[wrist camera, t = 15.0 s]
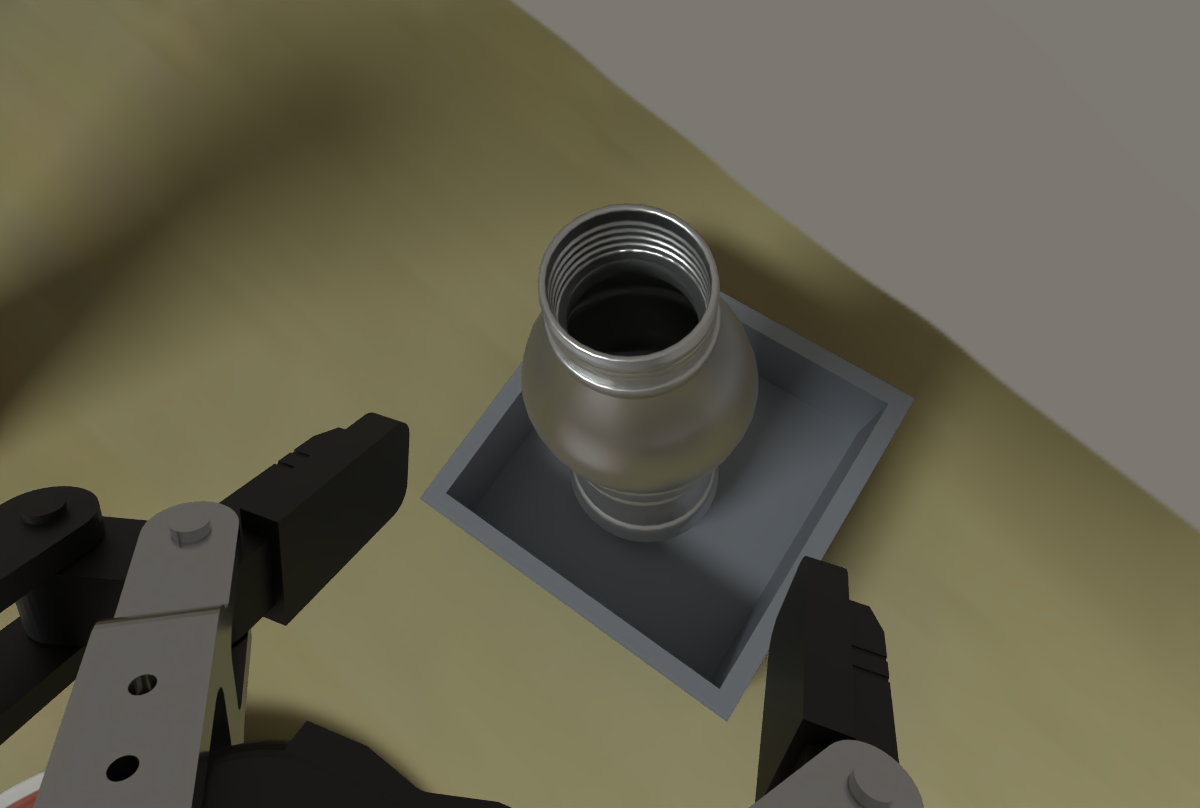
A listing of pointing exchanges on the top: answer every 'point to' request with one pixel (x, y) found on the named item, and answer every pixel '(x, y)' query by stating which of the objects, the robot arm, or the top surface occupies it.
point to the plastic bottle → (637, 369)
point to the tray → (712, 546)
